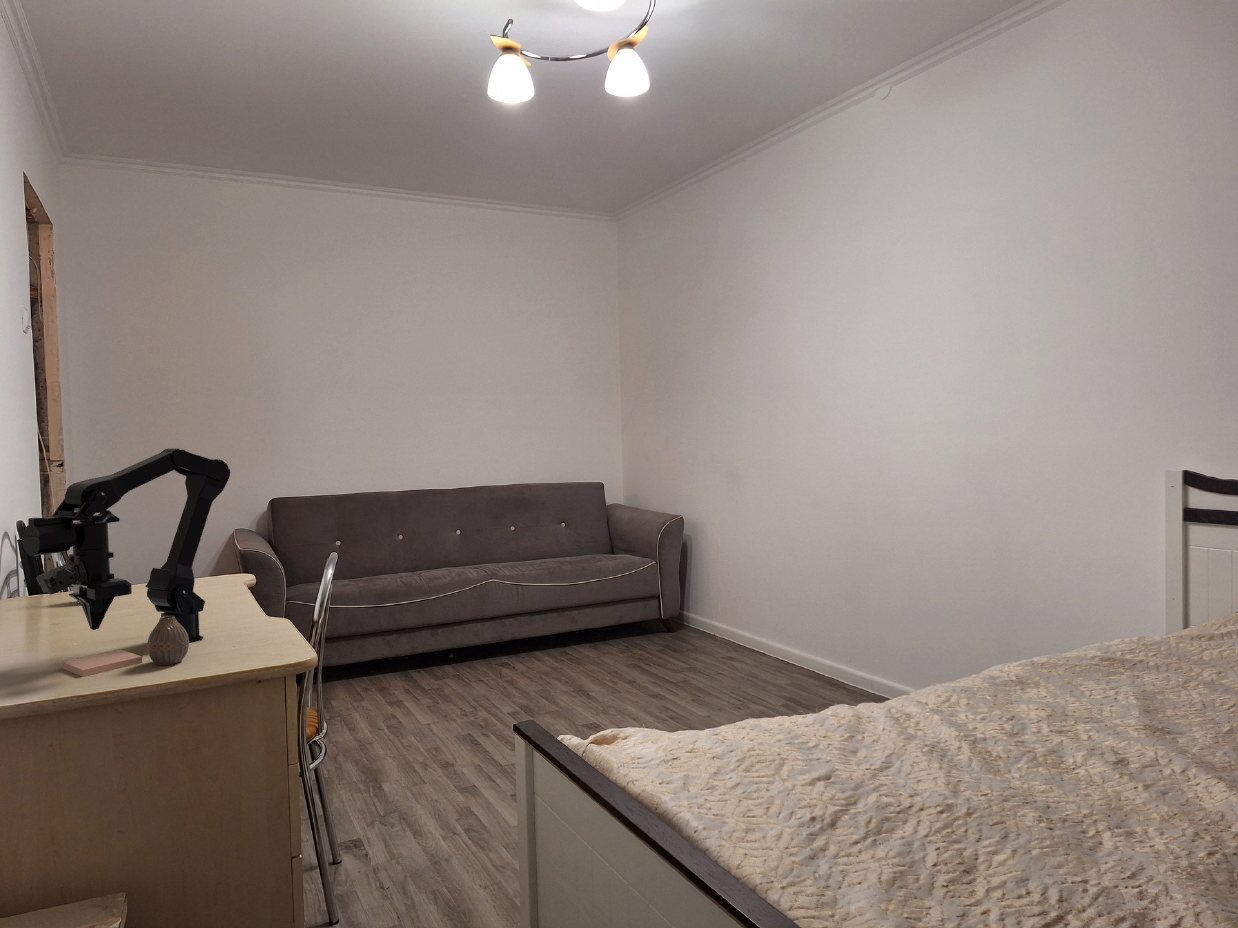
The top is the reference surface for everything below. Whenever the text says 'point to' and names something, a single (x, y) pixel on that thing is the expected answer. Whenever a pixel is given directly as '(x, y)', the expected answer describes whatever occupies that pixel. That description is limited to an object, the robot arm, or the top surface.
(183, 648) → the vase
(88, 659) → the tile
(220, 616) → the top surface
